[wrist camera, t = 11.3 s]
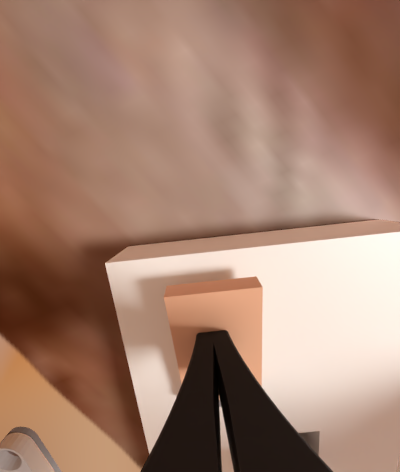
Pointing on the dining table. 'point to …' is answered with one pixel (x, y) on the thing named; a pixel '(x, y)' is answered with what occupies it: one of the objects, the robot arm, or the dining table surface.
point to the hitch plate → (285, 331)
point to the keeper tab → (217, 318)
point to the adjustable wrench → (25, 453)
